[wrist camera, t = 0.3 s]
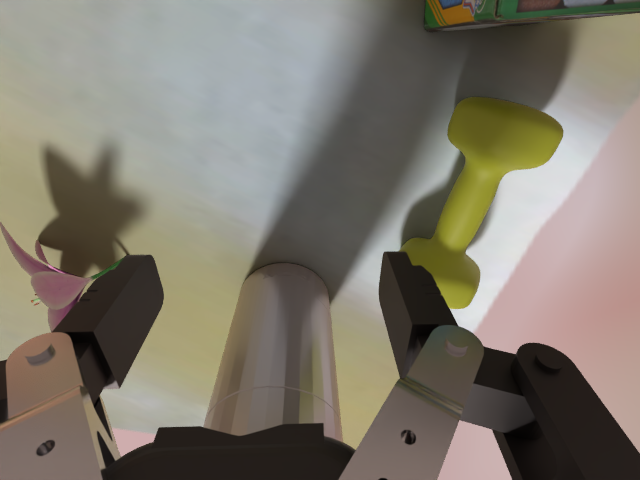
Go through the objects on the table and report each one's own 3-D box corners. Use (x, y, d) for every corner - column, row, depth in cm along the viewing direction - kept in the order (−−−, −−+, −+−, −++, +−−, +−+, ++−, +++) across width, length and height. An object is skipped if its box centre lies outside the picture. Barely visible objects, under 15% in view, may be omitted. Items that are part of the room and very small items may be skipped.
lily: (55, 173, 30) (-84, 235, 23) (163, 240, 28) (47, 327, 22) (84, 259, 38) (-12, 323, 32) (169, 315, 37) (87, 395, 30)
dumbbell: (446, 83, 27) (489, 93, 20) (536, 109, 28) (603, 127, 22) (377, 260, 34) (394, 307, 28) (451, 274, 35) (483, 323, 29)
